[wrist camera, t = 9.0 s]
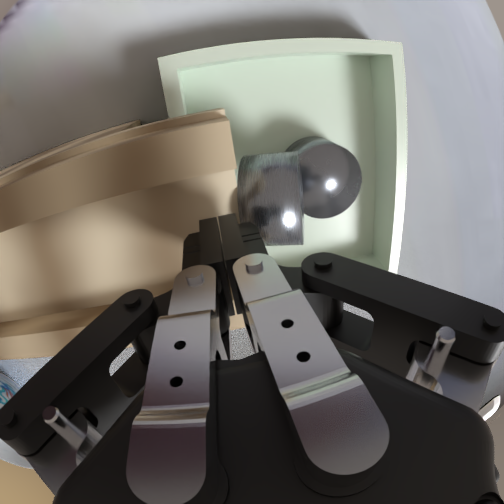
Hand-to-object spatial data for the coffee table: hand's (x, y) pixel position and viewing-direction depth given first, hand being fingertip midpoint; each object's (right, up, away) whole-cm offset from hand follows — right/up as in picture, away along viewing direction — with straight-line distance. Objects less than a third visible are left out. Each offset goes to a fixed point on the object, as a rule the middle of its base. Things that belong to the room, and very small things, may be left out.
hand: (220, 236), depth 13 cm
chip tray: (+4, +4, +6) cm, 8 cm away
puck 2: (+5, +3, +4) cm, 7 cm away
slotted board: (-9, +2, +5) cm, 11 cm away
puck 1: (+1, +2, +2) cm, 3 cm away
